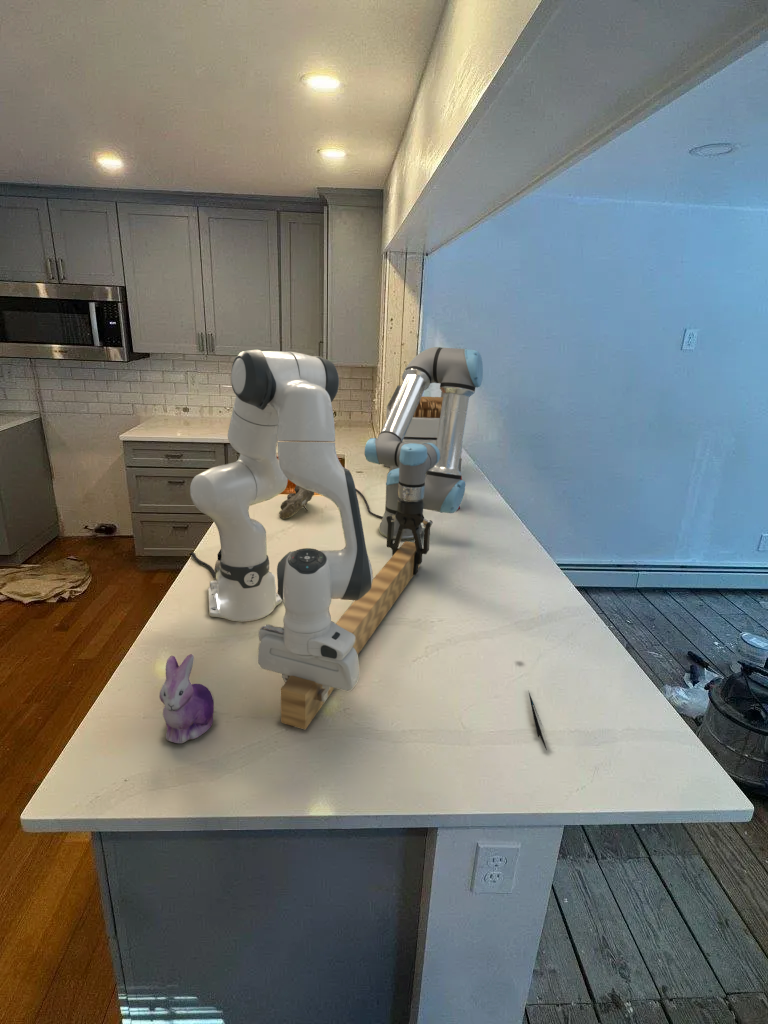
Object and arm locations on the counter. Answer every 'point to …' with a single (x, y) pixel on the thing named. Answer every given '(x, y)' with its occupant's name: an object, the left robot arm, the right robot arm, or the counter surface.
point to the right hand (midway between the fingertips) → (406, 571)
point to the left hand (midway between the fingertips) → (307, 695)
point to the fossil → (295, 502)
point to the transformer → (422, 422)
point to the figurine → (185, 702)
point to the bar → (359, 621)
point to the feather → (536, 721)
